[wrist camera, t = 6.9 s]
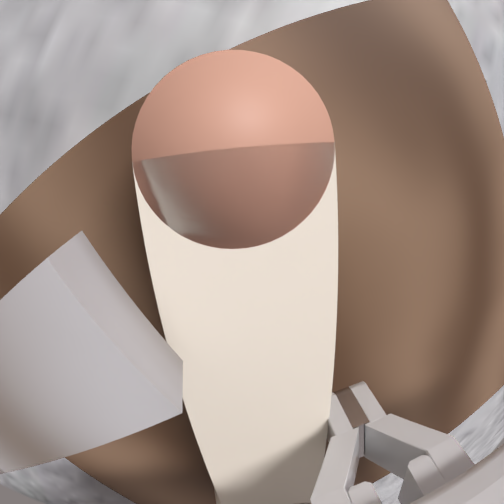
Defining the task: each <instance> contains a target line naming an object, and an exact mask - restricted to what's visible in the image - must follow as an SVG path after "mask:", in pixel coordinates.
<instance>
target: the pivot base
mask: <svg viewBox="0 0 504 504" xmlns="http://www.w3.org/2000/svg"><path fill="white" fill-rule="evenodd" d="M229 50H246V51H253V52H257V53H261V54H265V55H268V56H271V57H273V58H275V59H278V60H280V61H282V62H283V63H285V64H287V65H289V66H290V67H292V68H293V69H294V70H296V71H297V72H298V73H300V74H301V75H302V76H303V77H304V78H305V79H306V80H307V81H308V82H309V83H310V84H311V85H312V87H313V88H314V89H315V91H316V92H317V93H318V94H319V96H320V98H321V100H322V101H323V103H324V105H325V107H326V109H327V112H328V114H329V117H330V120H331V124H332V128H333V133H334V141H335V156H336V175H337V202H338V296H337V323H336V342H335V358H334V371H333V384H332V392H335V391H338V390H340V389H343V388H346V387H349V386H352V385H354V384H357V383H359V382H362V381H364V382H365V383H366V384H367V386H368V387H369V389H370V390H371V392H372V393H373V395H374V396H375V398H376V400H377V401H378V403H379V404H380V406H381V407H382V409H383V410H384V412H385V413H386V415H388V414H394V415H396V416H399V417H401V418H404V419H407V420H409V421H412V422H415V423H417V424H420V425H423V426H426V427H428V428H431V429H434V430H437V431H440V432H443V433H445V434H448V433H450V432H451V431H452V430H453V429H455V428H456V427H457V426H458V425H460V424H461V423H462V422H463V421H464V420H466V419H467V418H468V417H469V416H470V415H472V414H473V413H474V412H475V411H476V410H477V409H479V408H480V407H481V406H482V405H483V404H484V403H485V402H486V401H487V400H488V399H490V398H491V397H492V396H493V395H494V394H495V393H496V392H497V391H498V390H499V389H500V388H501V387H502V386H503V385H504V137H503V133H502V129H501V126H500V122H499V119H498V116H497V112H496V109H495V106H494V103H493V100H492V97H491V94H490V92H489V89H488V86H487V83H486V81H485V78H484V75H483V73H482V70H481V68H480V65H479V63H478V61H477V58H476V56H475V54H474V52H473V49H472V47H471V45H470V43H469V41H468V39H467V36H466V34H465V32H464V30H463V28H462V26H461V24H460V23H459V21H458V19H457V17H456V15H455V13H454V11H453V9H452V8H451V6H450V4H449V2H448V1H447V0H369V1H365V2H360V3H356V4H353V5H349V6H345V7H341V8H338V9H334V10H331V11H328V12H324V13H321V14H318V15H315V16H312V17H309V18H306V19H303V20H300V21H297V22H294V23H291V24H289V25H286V26H283V27H281V28H278V29H276V30H273V31H270V32H268V33H265V34H263V35H261V36H258V37H256V38H253V39H251V40H249V41H247V42H244V43H242V44H240V45H238V46H235V47H233V48H231V49H229ZM149 94H150V93H148V94H147V95H145V96H144V97H142V98H141V99H139V100H137V101H136V102H134V103H133V104H131V105H130V106H128V107H127V108H125V109H124V110H122V111H121V112H120V113H118V114H117V115H115V116H114V117H112V118H111V119H110V120H108V121H107V122H105V123H104V124H103V125H101V126H100V127H99V128H97V129H96V130H95V131H93V132H92V133H91V134H89V135H88V136H87V137H85V138H84V139H83V140H81V141H80V142H79V143H78V144H76V145H75V146H74V147H73V148H71V149H70V150H69V151H68V152H67V153H65V154H64V155H63V156H62V157H61V158H59V159H58V160H57V161H56V162H55V163H54V164H52V165H51V166H50V167H49V168H48V169H47V170H46V171H44V172H43V173H42V174H41V175H40V176H39V177H38V178H37V179H36V180H35V181H34V182H32V183H31V184H30V185H29V186H28V187H27V188H26V189H25V190H24V191H23V192H22V193H21V194H20V195H19V196H18V197H17V198H16V199H15V200H14V201H13V202H12V203H11V204H10V205H9V206H8V207H7V208H6V209H5V210H4V211H3V212H2V213H1V214H0V474H3V473H7V472H12V471H16V470H20V469H24V468H28V467H32V466H36V465H40V464H43V463H47V462H51V461H54V460H57V459H61V458H64V457H65V458H66V459H68V460H69V461H70V462H72V463H73V464H74V465H76V466H77V467H79V468H80V469H81V470H83V471H84V472H86V473H87V474H89V475H90V476H92V477H93V478H95V479H96V480H98V481H99V482H101V483H102V484H104V485H106V486H107V487H109V488H110V489H112V490H114V491H115V492H117V493H119V494H120V495H122V496H124V497H126V498H127V499H129V500H131V501H133V502H134V503H136V504H216V498H215V490H214V485H213V482H212V480H211V477H210V475H209V472H208V470H207V467H206V464H205V462H204V459H203V456H202V454H201V451H200V448H199V445H198V443H197V440H196V437H195V434H194V431H193V428H192V425H191V422H190V419H189V416H188V413H187V410H186V407H185V404H184V401H183V398H182V397H183V360H182V359H181V358H180V357H179V356H178V355H177V354H176V352H175V351H174V350H173V349H172V348H171V347H170V346H169V344H168V343H167V342H166V338H165V334H164V330H163V326H162V322H161V318H160V314H159V310H158V305H157V301H156V297H155V292H154V288H153V283H152V278H151V274H150V269H149V264H148V259H147V254H146V248H145V243H144V237H143V232H142V226H141V220H140V214H139V208H138V201H137V195H136V188H135V180H134V173H133V165H132V149H131V148H132V137H133V131H134V127H135V123H136V120H137V117H138V114H139V112H140V109H141V107H142V105H143V104H144V102H145V100H146V98H147V96H148V95H149ZM328 445H329V442H328V439H327V440H326V448H325V454H326V451H327V448H328ZM324 457H325V455H324ZM389 473H391V472H389V471H388V470H386V469H384V468H382V467H381V466H379V465H377V464H375V463H374V462H372V461H370V460H369V459H367V458H365V456H363V457H360V458H359V463H358V468H357V472H356V477H355V481H354V486H355V485H357V484H360V483H362V482H365V481H366V482H370V483H374V482H375V481H377V480H379V479H381V478H382V477H384V476H386V475H388V474H389Z"/></svg>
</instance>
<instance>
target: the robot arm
mask: <svg viewBox="0 0 504 504" xmlns="http://www.w3.org/2000/svg"><path fill="white" fill-rule="evenodd" d="M327 439H328V442H329V445H328V448H327V451H326V454H325V457H324V461H323V464H322V467H321V470H320V473H319V476H318V479H317V482H316V484H315V487H314V490H313V493H312V496H311V498H310V500H311V503H312V504H382V503H381V501H380V499H379V497H378V495H377V493H376V491H375V489H374V487H373V485H372V483H370V482H366V481H365V482H362V483H360V484H357V485H355V486H354V481H355V477H356V472H357V468H358V463H359V458H360V457H363V456H365V458H367V459H369V460H370V461H372V462H374V463H375V464H377V465H379V466H381V467H382V468H384V469H386V470H388V471H389V472H391V473H393V474H395V475H397V476H399V477H400V478H402V479H404V481H403V484H402V487H401V490H400V493H399V496H398V499H399V501H400V503H401V504H504V444H503V445H501V446H500V447H499V448H497V449H496V450H495V451H493V452H492V453H491V454H489V455H488V456H487V457H485V458H484V459H483V460H481V461H480V462H478V463H477V464H474V463H473V462H472V460H471V459H470V458H469V456H468V455H467V454H466V452H465V451H464V450H463V448H462V447H461V446H460V444H459V443H458V442H457V440H456V439H455V438H454V436H451V435H448V434H445V433H443V432H440V431H437V430H434V429H431V428H428V427H426V426H423V425H420V424H417V423H415V422H412V421H409V420H407V419H404V418H401V417H399V416H396V415H394V414H388V415H386V413H385V412H384V410H383V409H382V407H381V406H380V404H379V403H378V401H377V400H376V398H375V396H374V395H373V393H372V392H371V390H370V389H369V387H368V386H367V384H366V383H365V382H364V381H362V382H359V383H357V384H354V385H352V386H349V387H346V388H343V389H340V390H338V391H335V392H332V395H331V405H330V415H329V418H328V432H327Z"/></svg>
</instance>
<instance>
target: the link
mask: <svg viewBox="0 0 504 504" xmlns="http://www.w3.org/2000/svg"><path fill="white" fill-rule="evenodd" d="M131 149H132V165H133V173H134V180H135V188H136V195H137V201H138V208H139V214H140V220H141V226H142V232H143V237H144V243H145V248H146V254H147V259H148V264H149V269H150V274H151V278H152V283H153V288H154V292H155V297H156V301H157V305H158V310H159V314H160V318H161V322H162V326H163V330H164V334H165V338H166V342H167V343H168V344H169V346H170V347H171V348H172V349H173V350H174V351H175V352H176V354H177V355H178V356H179V357H180V358H181V359H182V360H183V397H182V398H183V401H184V404H185V407H186V410H187V413H188V416H189V419H190V422H191V425H192V428H193V431H194V434H195V437H196V440H197V443H198V445H199V448H200V451H201V454H202V456H203V459H204V462H205V464H206V467H207V470H208V472H209V475H210V477H211V480H212V482H213V485H214V490H215V498H216V504H312V503H311V500H310V498H311V496H312V493H313V490H314V487H315V484H316V482H317V479H318V476H319V473H320V470H321V467H322V464H323V461H324V455H325V448H326V440H327V432H328V418H329V415H330V405H331V395H332V384H333V371H334V358H335V342H336V323H337V296H338V202H337V175H336V156H335V141H334V133H333V128H332V124H331V120H330V117H329V114H328V112H327V109H326V107H325V105H324V103H323V101H322V100H321V98H320V96H319V94H318V93H317V92H316V91H315V89H314V88H313V87H312V85H311V84H310V83H309V82H308V81H307V80H306V79H305V78H304V77H303V76H302V75H301V74H300V73H298V72H297V71H296V70H294V69H293V68H292V67H290V66H289V65H287V64H285V63H283V62H282V61H280V60H278V59H275V58H273V57H271V56H268V55H265V54H261V53H257V52H253V51H246V50H223V51H215V52H211V53H207V54H203V55H200V56H197V57H195V58H193V59H190V60H188V61H186V62H184V63H183V64H181V65H179V66H178V67H176V68H175V69H173V70H172V71H171V72H169V73H168V74H167V75H166V76H164V77H163V78H162V80H161V81H160V82H159V83H158V84H157V85H156V86H155V87H154V88H153V90H152V91H151V92H150V94H149V95H148V96H147V98H146V100H145V102H144V104H143V105H142V107H141V109H140V112H139V114H138V117H137V120H136V123H135V127H134V131H133V137H132V148H131Z"/></svg>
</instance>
